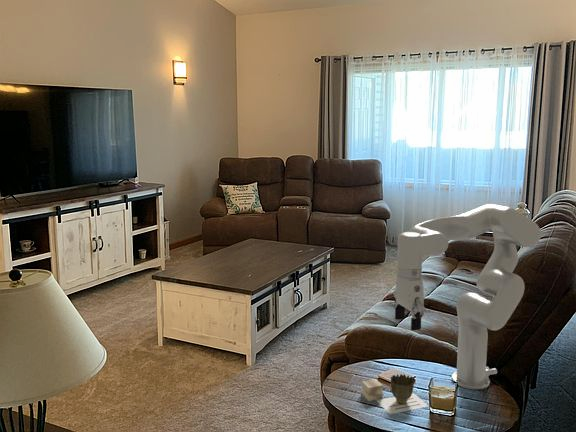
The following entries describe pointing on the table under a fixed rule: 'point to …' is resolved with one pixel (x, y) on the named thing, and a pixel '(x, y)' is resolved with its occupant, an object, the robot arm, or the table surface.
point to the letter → (395, 407)
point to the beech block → (372, 389)
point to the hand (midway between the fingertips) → (407, 324)
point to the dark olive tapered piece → (402, 388)
